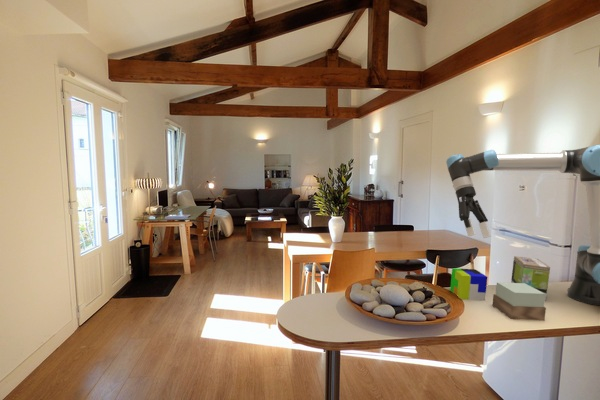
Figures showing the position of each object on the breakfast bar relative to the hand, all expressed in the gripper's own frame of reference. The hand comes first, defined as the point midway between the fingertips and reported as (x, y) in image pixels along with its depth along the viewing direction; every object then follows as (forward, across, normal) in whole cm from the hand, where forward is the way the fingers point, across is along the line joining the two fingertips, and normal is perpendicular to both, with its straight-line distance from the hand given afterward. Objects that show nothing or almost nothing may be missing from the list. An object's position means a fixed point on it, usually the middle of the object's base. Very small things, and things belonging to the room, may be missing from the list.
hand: (479, 236), depth 140 cm
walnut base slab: (+31, -3, +3) cm, 31 cm away
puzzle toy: (+22, -4, -14) cm, 26 cm away
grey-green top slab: (+26, -2, +6) cm, 27 cm away
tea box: (+24, -30, 0) cm, 38 cm away
